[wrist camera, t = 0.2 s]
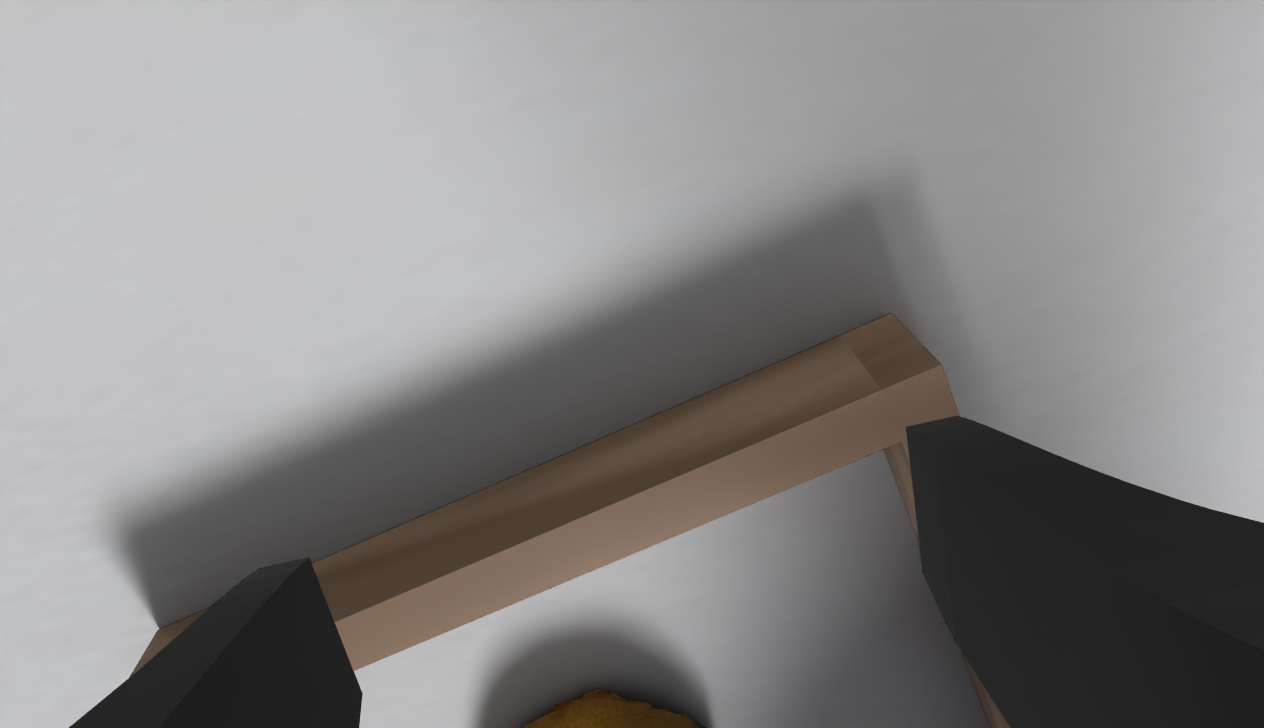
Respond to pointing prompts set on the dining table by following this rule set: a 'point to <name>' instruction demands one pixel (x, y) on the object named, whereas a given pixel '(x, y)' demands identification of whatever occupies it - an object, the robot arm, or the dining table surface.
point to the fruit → (610, 714)
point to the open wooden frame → (636, 492)
